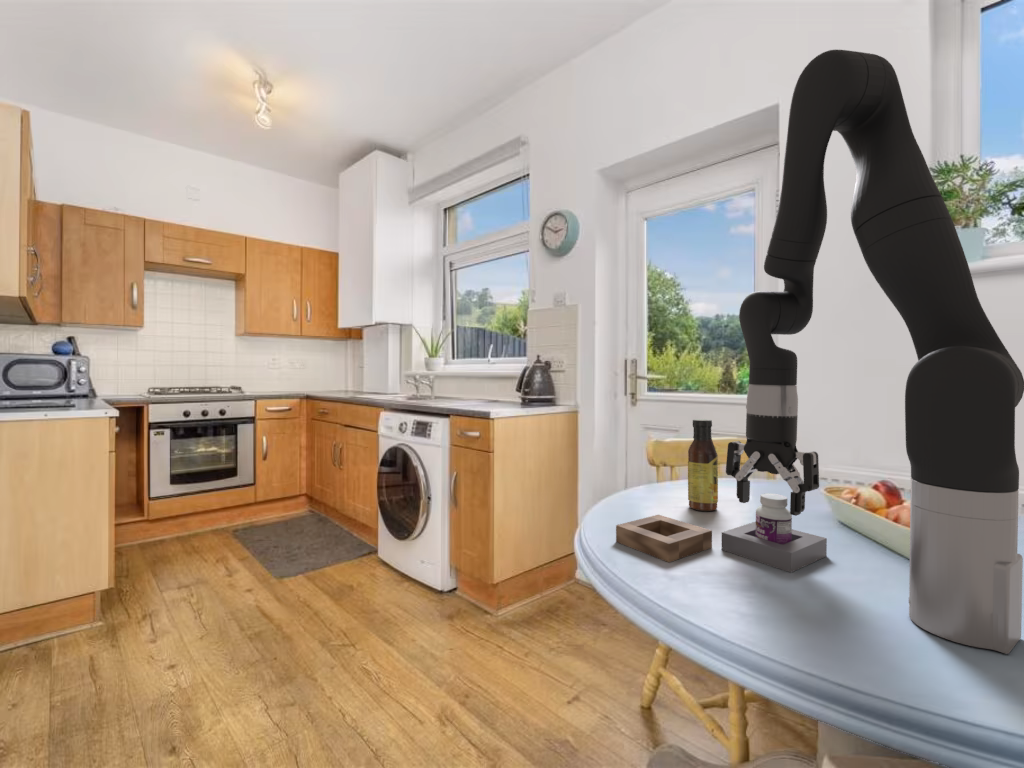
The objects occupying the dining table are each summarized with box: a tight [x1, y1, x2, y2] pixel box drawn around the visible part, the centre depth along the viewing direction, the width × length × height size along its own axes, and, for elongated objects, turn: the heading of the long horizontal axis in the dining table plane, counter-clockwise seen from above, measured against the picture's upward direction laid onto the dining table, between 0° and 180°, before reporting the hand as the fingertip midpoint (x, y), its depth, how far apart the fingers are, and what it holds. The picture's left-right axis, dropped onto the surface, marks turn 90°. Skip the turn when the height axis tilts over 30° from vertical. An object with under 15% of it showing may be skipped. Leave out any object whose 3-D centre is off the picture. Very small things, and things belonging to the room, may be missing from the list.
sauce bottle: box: [687, 418, 719, 512], centre depth 108 cm, size 6×6×20 cm
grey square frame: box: [721, 521, 828, 573], centre depth 81 cm, size 12×12×3 cm
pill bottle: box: [755, 493, 793, 545], centre depth 81 cm, size 5×5×10 cm
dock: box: [615, 514, 713, 563], centre depth 85 cm, size 12×12×3 cm
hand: (768, 508), depth 81 cm, fingers open, 8 cm apart
